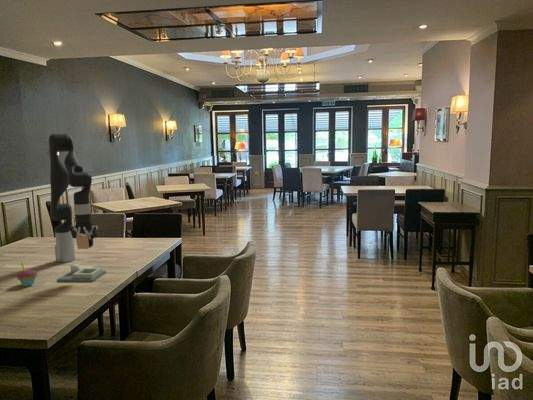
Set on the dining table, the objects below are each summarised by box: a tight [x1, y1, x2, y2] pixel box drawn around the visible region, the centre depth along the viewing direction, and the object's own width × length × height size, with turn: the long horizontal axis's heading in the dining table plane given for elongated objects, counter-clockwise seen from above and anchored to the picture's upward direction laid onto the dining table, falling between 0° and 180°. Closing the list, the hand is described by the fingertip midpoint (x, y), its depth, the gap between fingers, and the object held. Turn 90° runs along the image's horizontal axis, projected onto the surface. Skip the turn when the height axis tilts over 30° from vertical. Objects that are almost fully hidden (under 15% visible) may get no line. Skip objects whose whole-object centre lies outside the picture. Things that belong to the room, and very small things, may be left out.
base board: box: [56, 263, 107, 283], centre depth 201 cm, size 18×14×5 cm
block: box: [76, 234, 94, 250], centre depth 199 cm, size 5×5×6 cm
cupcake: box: [16, 261, 39, 287], centre depth 191 cm, size 9×8×12 cm
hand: (85, 246), depth 199 cm, fingers closed on block, 5 cm apart
